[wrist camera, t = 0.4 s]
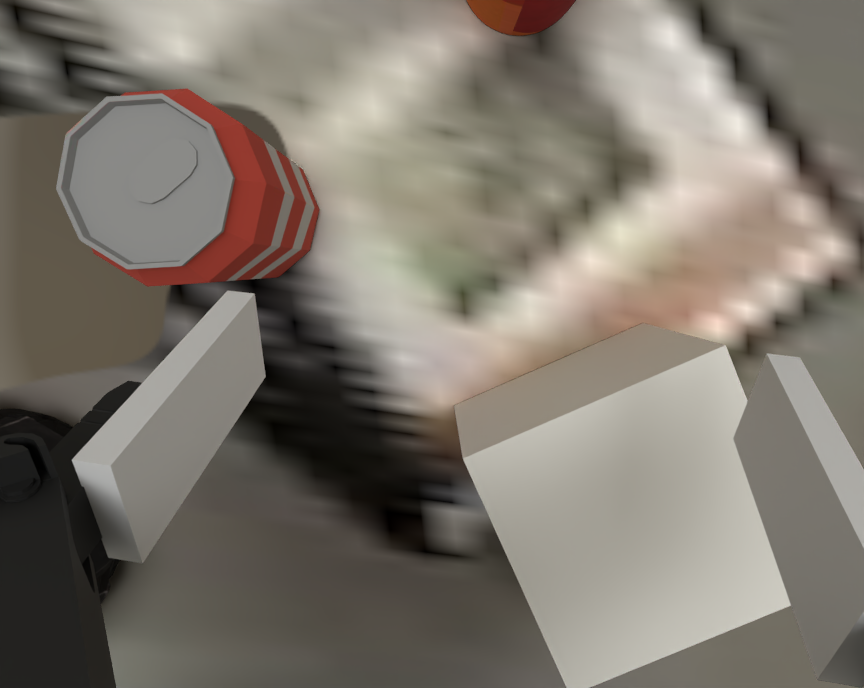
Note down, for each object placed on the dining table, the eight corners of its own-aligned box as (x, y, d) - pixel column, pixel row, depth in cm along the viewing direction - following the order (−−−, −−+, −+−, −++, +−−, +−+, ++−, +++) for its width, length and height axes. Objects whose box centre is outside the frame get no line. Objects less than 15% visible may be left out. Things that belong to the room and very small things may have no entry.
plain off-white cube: (716, 504, 32) (822, 592, 24) (533, 581, 33) (570, 695, 24) (643, 322, 31) (725, 345, 23) (453, 405, 32) (462, 458, 23)
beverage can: (347, 221, 31) (293, 193, 19) (248, 305, 31) (135, 330, 19) (263, 121, 30) (154, 26, 18) (164, 208, 31) (-6, 172, 19)
